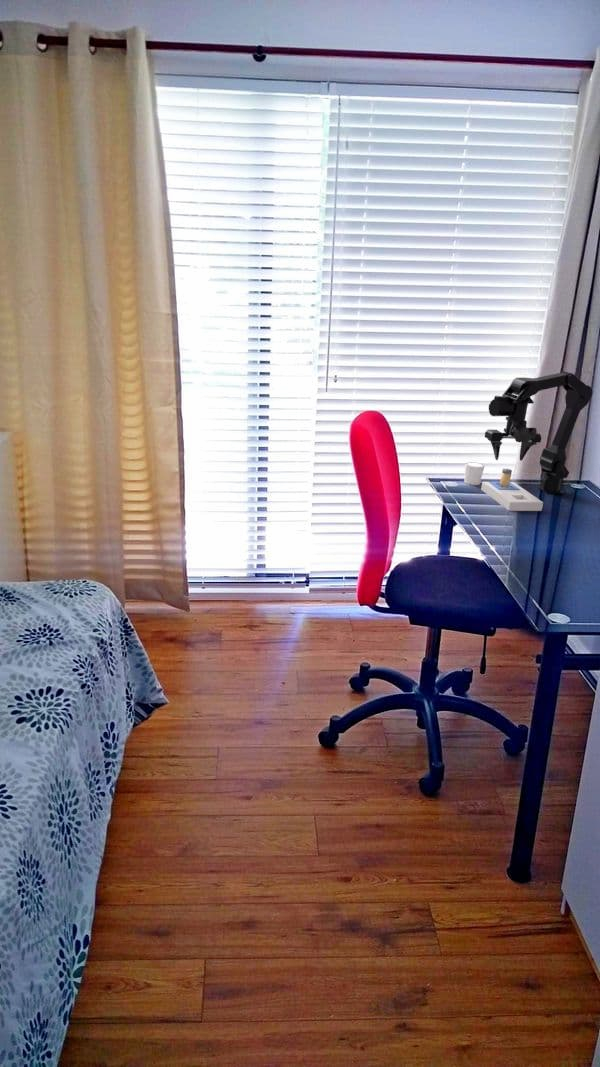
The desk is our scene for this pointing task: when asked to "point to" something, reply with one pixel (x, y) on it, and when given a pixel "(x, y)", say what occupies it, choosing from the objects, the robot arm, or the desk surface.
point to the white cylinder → (473, 473)
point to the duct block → (512, 497)
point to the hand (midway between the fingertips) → (508, 460)
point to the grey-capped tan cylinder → (505, 478)
